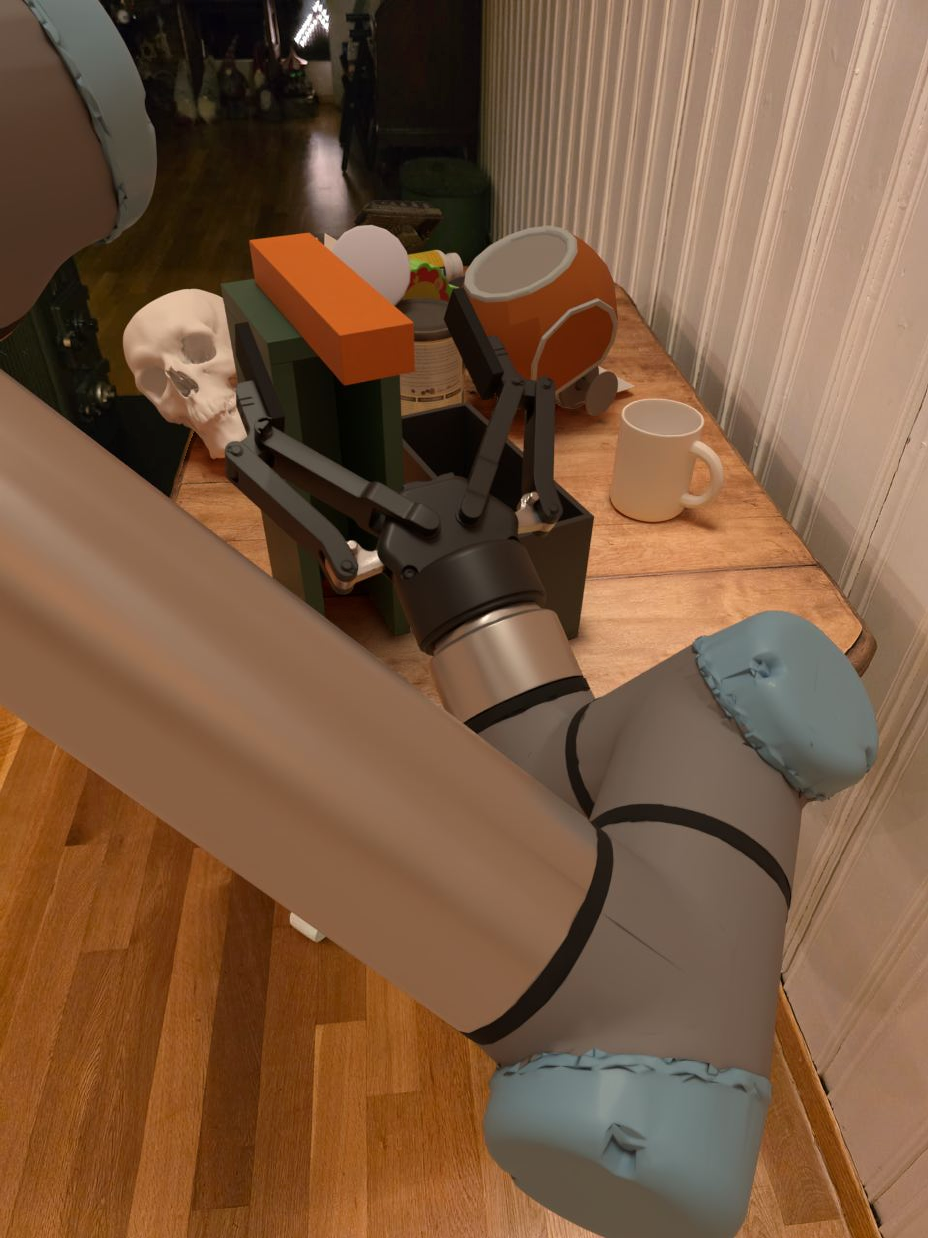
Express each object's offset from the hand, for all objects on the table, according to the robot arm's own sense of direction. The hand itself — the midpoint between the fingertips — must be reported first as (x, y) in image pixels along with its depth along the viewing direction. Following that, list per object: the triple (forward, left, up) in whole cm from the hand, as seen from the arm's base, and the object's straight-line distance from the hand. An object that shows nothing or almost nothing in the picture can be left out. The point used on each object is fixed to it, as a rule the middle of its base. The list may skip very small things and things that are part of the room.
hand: (352, 319), depth 50 cm
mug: (+24, +29, -30) cm, 49 cm away
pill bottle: (-17, +86, -27) cm, 92 cm away
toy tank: (-23, +91, -20) cm, 96 cm away
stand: (-6, +8, -30) cm, 31 cm away
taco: (-7, +59, -30) cm, 67 cm away
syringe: (+17, +48, -26) cm, 57 cm away
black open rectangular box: (+6, +14, -30) cm, 33 cm away
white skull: (-22, +33, -30) cm, 50 cm away
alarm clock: (+14, +44, -19) cm, 50 cm away
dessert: (+13, +57, -30) cm, 66 cm away
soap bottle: (-10, +42, -11) cm, 45 cm away
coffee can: (-4, +43, -30) cm, 53 cm away
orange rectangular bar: (-3, +4, -2) cm, 5 cm away
